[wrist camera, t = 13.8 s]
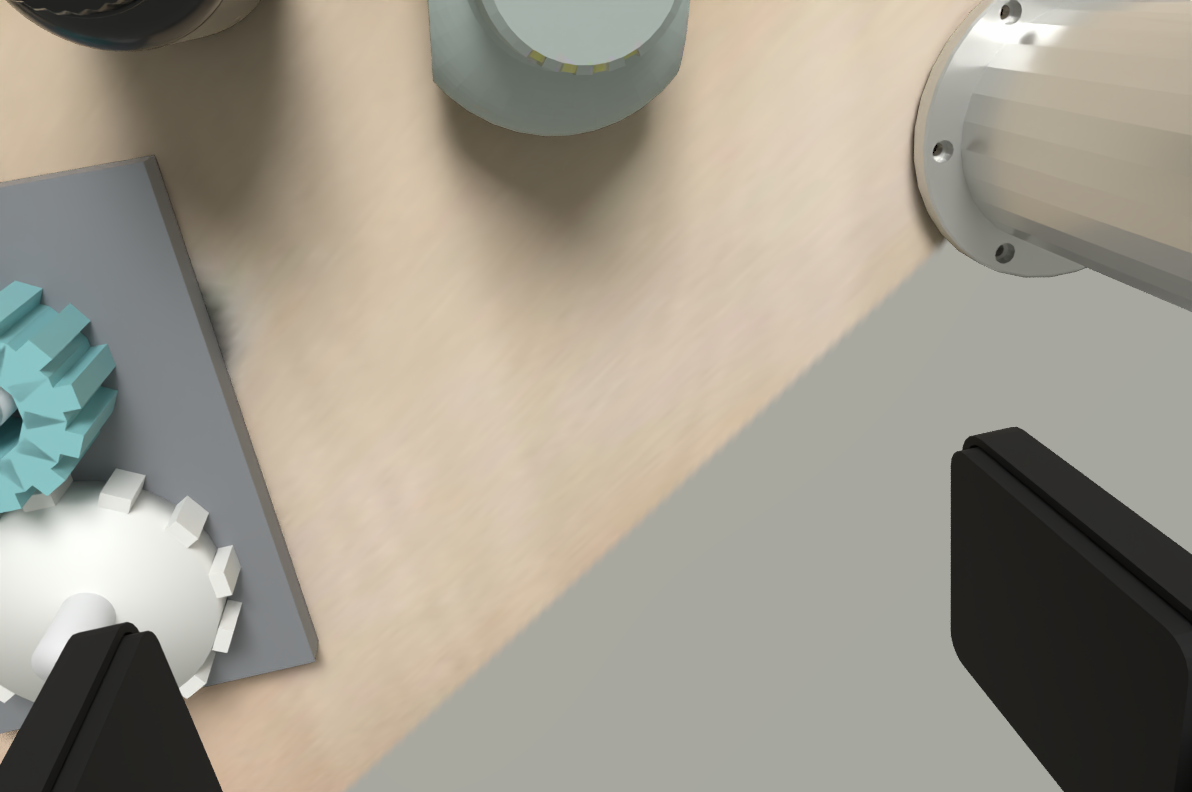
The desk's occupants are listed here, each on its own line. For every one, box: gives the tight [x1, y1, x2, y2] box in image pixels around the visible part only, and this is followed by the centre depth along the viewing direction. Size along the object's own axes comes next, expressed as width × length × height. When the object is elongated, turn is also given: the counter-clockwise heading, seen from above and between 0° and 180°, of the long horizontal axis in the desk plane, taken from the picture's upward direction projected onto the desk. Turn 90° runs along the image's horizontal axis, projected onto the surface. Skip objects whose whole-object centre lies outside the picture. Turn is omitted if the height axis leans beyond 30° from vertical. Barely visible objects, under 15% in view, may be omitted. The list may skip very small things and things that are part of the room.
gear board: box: [0, 155, 318, 733], centre depth 36 cm, size 14×22×6 cm, turn 9°
